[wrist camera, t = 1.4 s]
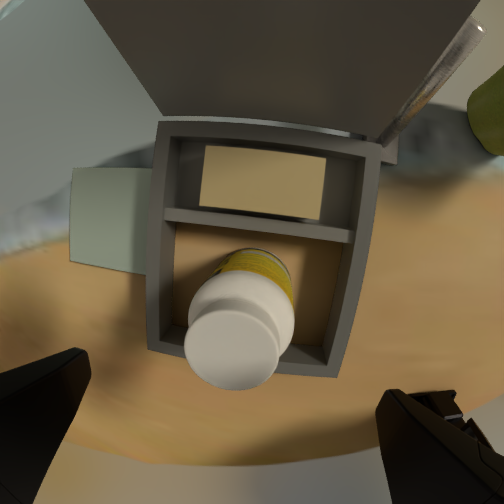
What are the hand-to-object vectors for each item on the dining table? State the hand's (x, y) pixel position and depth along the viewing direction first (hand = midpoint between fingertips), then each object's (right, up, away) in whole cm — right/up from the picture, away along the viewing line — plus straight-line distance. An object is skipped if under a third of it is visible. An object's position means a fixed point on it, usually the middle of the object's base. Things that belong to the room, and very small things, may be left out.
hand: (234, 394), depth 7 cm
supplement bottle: (+1, +2, +14) cm, 14 cm away
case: (+1, +4, +13) cm, 14 cm away
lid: (+1, +12, +1) cm, 12 cm away
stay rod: (+10, +13, +11) cm, 19 cm away
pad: (-11, +7, +13) cm, 19 cm away
